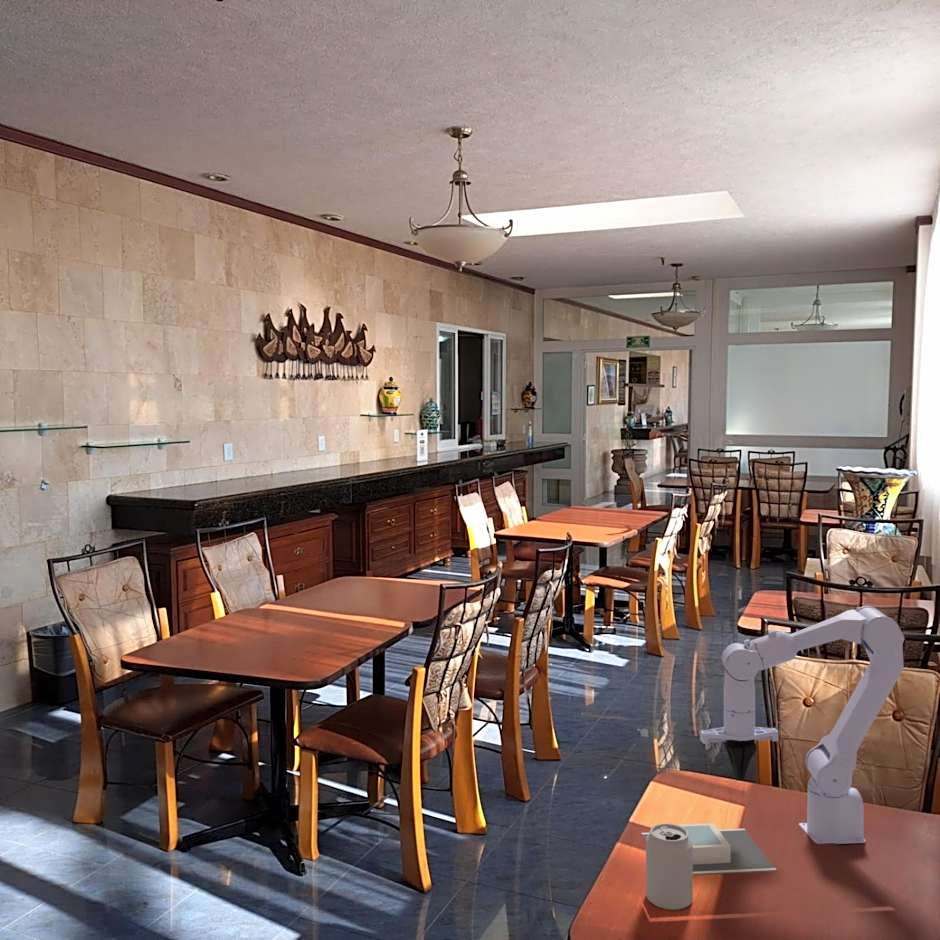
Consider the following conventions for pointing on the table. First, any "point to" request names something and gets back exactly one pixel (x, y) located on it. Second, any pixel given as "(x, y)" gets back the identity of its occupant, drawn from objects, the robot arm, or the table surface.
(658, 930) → the table surface
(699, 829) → the white rectangular block
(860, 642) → the robot arm
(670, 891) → the can
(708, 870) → the mat
